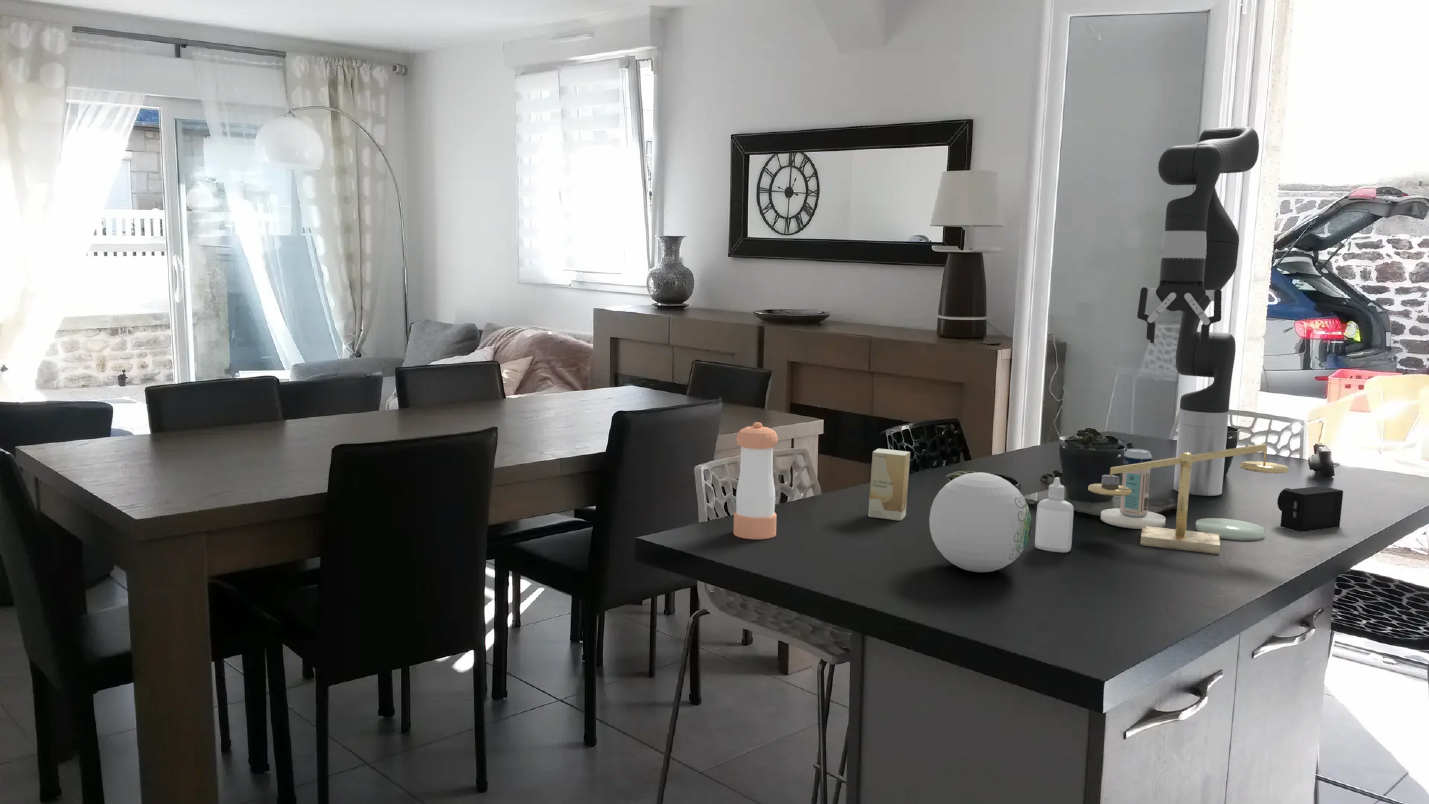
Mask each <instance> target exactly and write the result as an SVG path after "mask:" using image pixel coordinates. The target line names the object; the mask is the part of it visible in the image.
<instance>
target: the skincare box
mask: <svg viewBox="0 0 1429 804" xmlns="http://www.w3.org/2000/svg"><path fill="white" fill-rule="evenodd" d="M871 456H872V459H871V471H870V483H869V484H870V485H869V486H870V487H869V499H868V514H867V516H868V517H869V518H877V519H878V518H879V519H883V520H884V519H886V520H892V521H898V522H899V521H900V522H901V521H902V520H903V519H904V518H905V517H906V516H907V503H908V489H909V474H910V462H911V451H905V450H896V449H887V448H877V449H875V450H873V451H872V455H871Z"/></svg>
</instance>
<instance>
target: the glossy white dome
mask: <svg viewBox="0 0 1429 804" xmlns="http://www.w3.org/2000/svg"><path fill="white" fill-rule="evenodd" d="M1147 513H1148V514H1147V515H1146V516H1144V517H1140V518H1136V517H1128V516H1125V515H1123V514H1122V513H1121V512H1120V508H1118V507H1116V508H1114V507H1113V508H1106V509H1103V510H1101V512H1100V520H1101V521H1102V522H1103V523H1105V524H1108V525H1112V526H1115V527H1119V528H1125V529H1133V530H1134V529H1135V530H1136V529H1137V530H1142V528H1143V526H1149V527H1158V528H1165V527H1166V521H1167V519H1166V517H1165V516H1164V515H1162V514H1159V513H1157V512H1153V511H1148V510H1147Z"/></svg>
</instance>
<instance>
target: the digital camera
mask: <svg viewBox="0 0 1429 804" xmlns="http://www.w3.org/2000/svg"><path fill="white" fill-rule="evenodd" d="M1343 496H1344V491H1343V489H1338V488H1333V487H1328V486H1324V485H1319V486H1308V487H1298V488H1289V487H1286V488H1283V489H1282V490H1281V491H1280V492H1279V494H1278V497H1277V508H1278V509H1279V510H1280V511H1281V513H1280V514H1281V515H1280V527H1281V528H1283V527H1284V529H1287V530H1292V531H1295V532H1299V533H1305V532H1306V533H1307V532H1314V531H1321V530H1329V529H1337V528H1341V518H1342V507H1343V506H1342V505H1343V499H1344V497H1343Z"/></svg>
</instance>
